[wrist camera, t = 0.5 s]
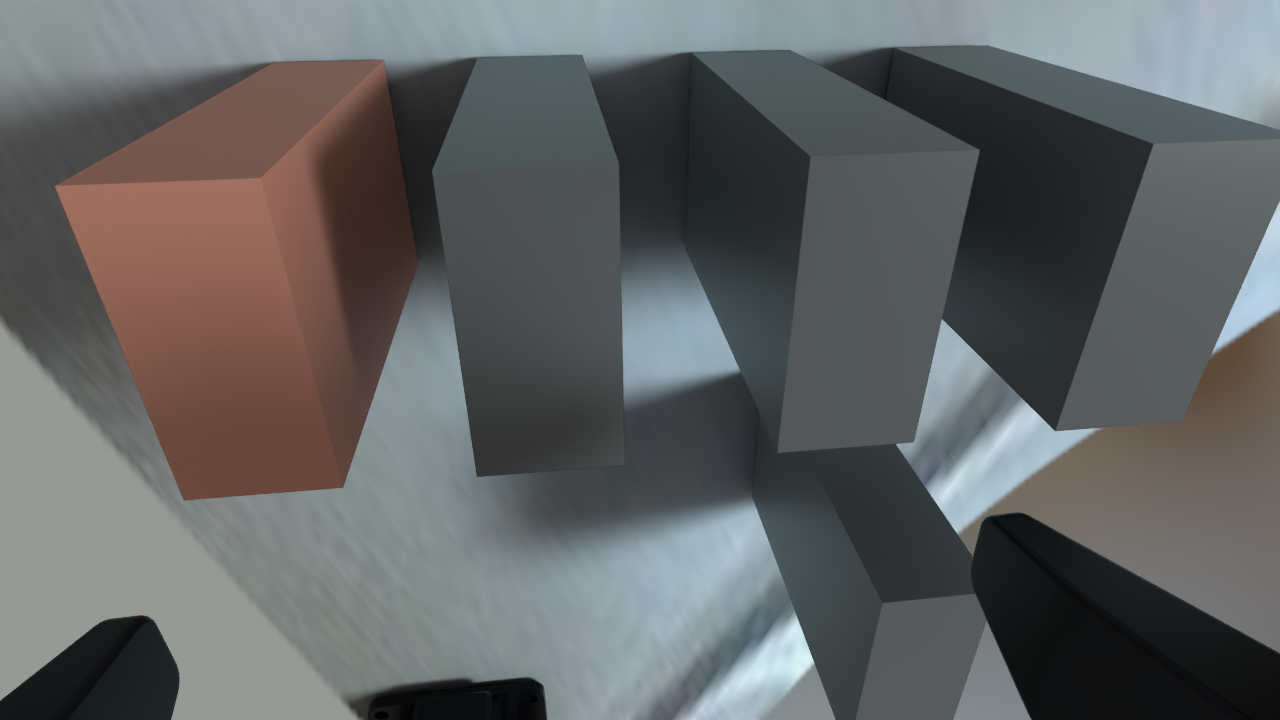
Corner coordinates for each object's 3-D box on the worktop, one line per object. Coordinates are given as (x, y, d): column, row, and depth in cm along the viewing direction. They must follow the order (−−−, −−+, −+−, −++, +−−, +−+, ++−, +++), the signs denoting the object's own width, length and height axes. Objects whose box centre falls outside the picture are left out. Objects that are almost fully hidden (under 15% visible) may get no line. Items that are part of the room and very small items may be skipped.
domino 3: (841, 364, 23) (996, 591, 15) (821, 491, 25) (946, 740, 18) (764, 369, 23) (882, 603, 15) (752, 497, 25) (848, 752, 17)
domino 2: (790, 50, 18) (979, 150, 10) (772, 245, 21) (913, 442, 13) (691, 52, 18) (810, 157, 10) (686, 249, 20) (777, 453, 13)
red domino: (383, 59, 17) (260, 177, 9) (418, 263, 20) (343, 487, 12) (273, 62, 17) (54, 185, 9) (323, 268, 19) (183, 500, 12)
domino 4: (986, 45, 19) (1307, 138, 11) (945, 236, 21) (1181, 421, 13) (894, 47, 18) (1154, 143, 11) (863, 240, 21) (1054, 431, 13)
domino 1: (582, 54, 18) (619, 163, 10) (589, 254, 20) (624, 465, 12) (477, 57, 17) (431, 171, 10) (499, 259, 20) (477, 476, 12)
